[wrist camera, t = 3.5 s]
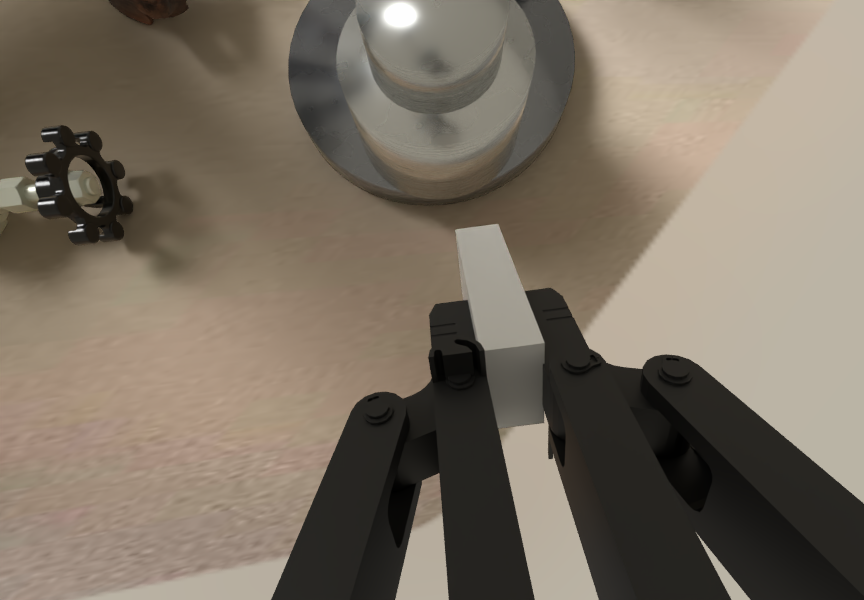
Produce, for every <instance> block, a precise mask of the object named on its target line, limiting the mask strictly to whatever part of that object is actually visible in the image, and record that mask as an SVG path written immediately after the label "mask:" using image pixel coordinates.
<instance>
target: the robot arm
mask: <svg viewBox="0 0 864 600" xmlns="http://www.w3.org/2000/svg"><path fill="white" fill-rule="evenodd" d="M455 233H456V242H457V251H458V260H459V269H460V278H461V288H462V296H463V301H456V302H448V303H440V304H435V306H434V307H433V309H432V311H431V313H430V315H429V318H430V332H431V345H432V348H431V350H430V352H429V357H428V358H429V364H430V370H431V376H432V379H431V381H430V382H429V384H428V385H427V386H426V387H425V388H424V389H422V390H421V391H420V392H418V393H416V394H414V395H412V396H409V397H407V398H404V399H402V398H401V397H399V396H398V395H396V394H394V393H389V392H378V393H373V394H371V395H368V396H366V397H364V398H363V399H361V400H360V401H359V402H358V403H357V404H356V405H355V406H354V408H353V409H352V411H351V413H350V416H349V418H348V420H347V423H346V425H345V427H344V430H343V432H342V434H341V437H340V439H339V442H338V444H337V446H336V449H335V451H334V453H333V456H332V458H331V460H330V463H329V465H328V467H327V470H326V472H325V474H324V477H323V479H322V481H321V484H320V486H319V489H318V491H317V493H316V496H315V498H314V500H313V503H312V505H311V507H310V510H309V512H308V514H307V517H306V519H305V521H304V524H303V526H302V529H301V531H300V533H299V536H298V538H297V540H296V543H295V545H294V547H293V550H292V552H291V554H290V557H289V559H288V562H287V564H286V566H285V569H284V571H283V573H282V576H281V578H280V580H279V583H278V585H277V587H276V590H275V592H274V594H273V597H272V599H271V600H395V598H396V593H397V589H398V584H399V580H400V576H401V572H402V567H403V563H404V559H405V554H406V550H407V545H408V541H409V537H410V533H411V528H412V524H413V520H414V515H415V511H416V507H417V502H418V498H419V494H420V489H421V485H422V480H424V479H426V478H429V477H431V476H433V475H435V474H438V473H440V487H441V500H442V513H443V526H444V540H445V553H446V567H447V580H448V593H449V600H535V599H534V594H533V589H532V585H531V580H530V576H529V571H528V567H527V562H526V557H525V552H524V547H523V543H522V538H521V533H520V529H519V525H518V519H517V515H516V511H515V505H514V501H513V496H512V492H511V487H510V483H509V478H508V473H507V468H506V463H505V459H504V454H503V449H502V445H501V440H500V435H499V431H498V429H499V428H507V427H515V426H522V425H530V424H539V423H544V411H545V414H546V418H547V420H548V424H549V431H548V433H549V435H548V455H549V459H552V458H553V454H554V458H555V461H556V464H557V467H558V470H559V474H560V476H561V480H562V483H563V486H564V489H565V493H566V496H567V499H568V502H569V505H570V509H571V512H572V515H573V518H574V521H575V525H576V528H577V531H578V534H579V537H580V540H581V543H582V547H583V550H584V553H585V556H586V559H587V563H588V566H589V569H590V572H591V576H592V579H593V582H594V585H595V588H596V592H597V595H598V598H599V600H731V598H730V596H729V594H728V593H727V591H726V589H725V587H724V585H723V583H722V581H721V580H720V577H719V576H718V574H717V572H716V570H715V568H714V566H713V564H712V562H711V560H710V559H709V557H708V555H707V553H706V551H705V549H704V547H703V545H702V543H701V541H700V539H699V538H698V536H697V534H698V535H699V536H700V538H701V539H702V540H703V541H704V543H705V544H706V545H707V546H708V548H709V549H710V550H711V551H712V553H713V554H714V555H715V556H716V557H717V559H718V560H719V561H720V562H721V563H722V565H723V566H724V567H725V569H726V570H727V571H728V572H729V573H730V575H731V576H732V577H733V579H734V580H735V581H736V582H737V583H738V585H739V586H740V587H741V588H742V590H743V591H744V592H745V593H746V595H747V596H748V597H749V598H750V599H751V600H864V504H863V503H862V502H861V501H860V500H859V499H857V498H856V497H855V496H854V495H853V494H852V493H850V492H849V491H848V490H847V489H846V488H844V487H843V486H842V485H841V484H840V483H839V482H837V481H836V480H835V479H834V478H833V477H831V476H830V475H829V474H828V473H827V472H825V471H824V470H823V469H822V468H821V467H819V466H818V465H817V464H816V463H815V462H814V461H812V460H811V459H810V458H809V457H807V456H806V455H805V454H804V453H803V452H802V451H800V450H799V449H798V448H797V447H796V446H794V445H793V444H792V443H791V442H790V441H789V440H787V439H786V438H785V437H784V436H782V435H781V434H780V433H779V432H778V431H777V430H775V429H774V428H773V427H772V426H770V425H769V424H768V423H767V422H766V421H765V420H763V419H762V418H761V417H760V416H759V415H757V414H756V413H755V412H754V411H753V410H751V409H750V408H749V407H748V406H747V405H746V404H744V403H743V402H742V401H741V400H740V399H738V398H737V397H736V396H735V395H734V394H733V393H731V392H730V391H729V390H728V389H727V388H725V387H724V386H723V385H722V384H721V383H719V382H718V381H717V380H716V379H715V378H713V377H712V376H711V375H710V374H709V373H708V372H706V371H705V370H704V369H703V368H702V367H700V366H699V365H698V364H696V363H694V362H693V361H691V360H689V359H686V358H683V357H680V356H675V355H660V356H654V357H653V358H651V359H649V360H647V362H646V363H645V365H644V366H643V369H636V368H626V367H619V366H614V365H611V364H608V363H606V361H605V360H604V359H603V358H602V357H601V355H600V354H598V353H596V352H594V351H593V350H591V349H589V347H588V345H587V344H586V342H585V340H584V338H583V336H582V334H581V332H580V330H579V328H578V326H577V324H576V322H575V320H574V318H573V317H572V314H571V312H570V310H569V309H568V306H567V304H566V302H565V300H564V298H563V296H562V295H560V294H559V293H557V292H556V291H555V290H553V289H552V288H545V289H538V290H530V291H524V289H523V286H522V284H521V281H520V279H519V276H518V273H517V271H516V268H515V266H514V263H513V261H512V258H511V256H510V253H509V250H508V248H507V245H506V243H505V240H504V238H503V235H502V232H501V230H500V227H499V225H498V224H492V225H485V226H477V227H470V228H463V229H455ZM696 533H697V534H696Z"/></svg>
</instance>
